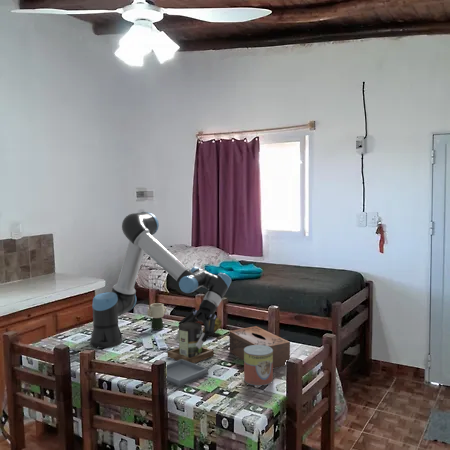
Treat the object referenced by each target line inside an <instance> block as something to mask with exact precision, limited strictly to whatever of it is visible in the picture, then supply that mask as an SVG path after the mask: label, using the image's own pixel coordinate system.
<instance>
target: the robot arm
mask: <svg viewBox="0 0 450 450" xmlns="http://www.w3.org/2000/svg"><path fill="white" fill-rule="evenodd" d="M159 226H160V225H159V220H158V218H157V216H156V215H155V214H154V213H152V212H148V211H142V212H135V213H129V214H128V215H126V216H125V217H124V219H123V220H122V222H121V230H122V232H123V233H122V234H123V235H124V236H125V238H127V240H128V245H127V247H126V251H125V255H124V258H123V261H122V264H121V265H122V266H121V270H120V273H119V276H118V279H117V282H116V283H115V284H114V285H112V288H111V289H112V290H111V291H106V292H103V293H101V292H100V293H98V294H96V295H95V296H94V297H93V298H92V304H91V305H92V306H91V307H92V321H93V322H92V324H93V329H92V333H91V336H90V340H89V344H90V346H91V347H94V348H99V349H102V348H103V349H104V348H112V347H117V346H119V345H121V344H122V343H123V335H122V333H121V332H122V331H121V329H120V326H119V317H120V316H122V315H125V314H126V313H129V312H130V311H131V310H132V309H134V308H135V306H136V304H137V296H136V292H137V290H136V289H135V286H136V285H135V284H136V282H137V278H138V275H139V271H140V268H141V264H142V261H143V258H144V254H145V253H146V255H148V256H149V257H150V258H151V259H152V260H153V261H155V263H156V264H157V265H159V267H161V268H162V269H164V271H165V272H166V273H167V274H168V275H169V276H171V278H173V279H174V280H175V281H176V282H177V283H178V286H179V289H180V290H181V292H183V293H185V294H190V293H193V292H195V291H197V290H198V289H200V288H201V287H202V288H204V289H206V290H207V292H206V293H205V295H204V297H203V299H202V301H201V302H200V303H199V307H198V309H195V308H192V309H191V310H190V312H189V313H188V314H187V315H186V316H185V317H183V318H182V319H181V320H180V321H178V326H179V325H180V324H182V323H186V322H196V323H200V322H202V323H203V329H205V333H203V332H202V335H201V337H200V339H199V340H198V342H197V344H196V347H197V348H199V349H200V348H201V347H203V345H204V343H205V342H207V340H208V337H210V336H211V337H212V336H214V334H215V333H214V328H215V320H216V318H218V316H217V315H216V313H215V312H216V311H217V309H218V307H219V306H220V305H221V302H222V300H223V298H224V296H225V295H226V293H227V291H228V290H229V287H230V285H231V283H232V278H231V277H230V276H229V275H228V274H226V273H225V272H219V273H218V274H213V273H211V272H209V271H207V270H204V269H203V268H202V267H198V266H196V265H195V266H193V267H191V269H189V268H188V267H187V266H185V265H184V263H182V262H181V261H180V260H179V259H178V258H177V257H176V256H175V255H174V254H172V252H170V251H169V250H168V249H167V248H166V247H165V246H164V245H163V244H162V243H160V242H159V240H158V239H156V238H155V237H154V236H153V235H155V234H156V233H157V231H158V230H159ZM209 321H210V325H209ZM174 340H175V341H176V343H179V329H178V330H177V333H176V335H175V337H174Z"/></svg>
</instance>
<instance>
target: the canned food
mask: <svg viewBox="0 0 450 450" xmlns="http://www.w3.org/2000/svg"><path fill="white" fill-rule="evenodd" d="M243 375H244V376H243V382H245V383H246V384H248V385H250V386H257V387H261V386H262V385H264V386H268V385H270V384H272V383H273V382H274V377H273V376H274V369H273V349H272V348H271V347H269V346H265V345H250V346H247V347H245V348H244V361H243ZM272 381H273V382H272ZM271 382H272V383H271ZM267 384H268V385H267ZM262 387H263V386H262Z"/></svg>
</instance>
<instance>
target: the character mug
mask: <svg viewBox="0 0 450 450" xmlns="http://www.w3.org/2000/svg"><path fill="white" fill-rule="evenodd" d="M165 313H167V307H166V306H164V303H160V302H156V303H151V304H150V305H149V309H147V316H148V317H150V318H152V320H151V329H153V330H162V329H164V322H163V317H164V315H165Z"/></svg>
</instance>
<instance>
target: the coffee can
mask: <svg viewBox="0 0 450 450" xmlns="http://www.w3.org/2000/svg"><path fill="white" fill-rule="evenodd" d="M177 326H178V330H179V342H178V348H179V354H180V355H183V356H186V357H189V358H191V357H194V356H196V355H199V354H202V347H203V346H202V347H201V348H200V349H199V348H197V347H196V344H197V342H198V340H199V339H200V337H201V335H202V333H203V332H202V331H203V328H202V327H203V325H202V323H200V322H186V323H182V324H180V325H179V324H178V325H177Z"/></svg>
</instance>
